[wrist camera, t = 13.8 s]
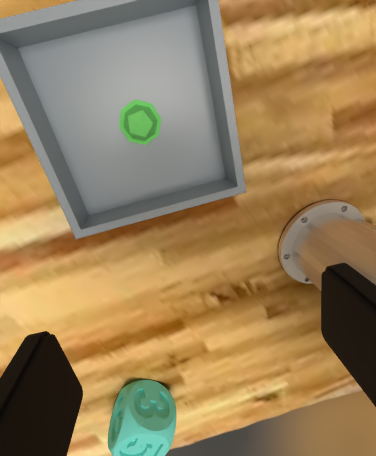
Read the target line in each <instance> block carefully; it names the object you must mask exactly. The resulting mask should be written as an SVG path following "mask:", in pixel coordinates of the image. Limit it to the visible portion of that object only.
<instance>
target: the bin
mask: <svg viewBox="0 0 376 456" xmlns="http://www.w3.org/2000/svg"><path fill="white" fill-rule="evenodd" d="M0 77H1V79H2V81H3V83H4V86H5V88H6V90H7V92H8V94H9V96H10V98H11V101H12V103H13V105H14V107H15V109H16V111H17V113H18V116H19V118H20V120H21V122H22V124H23V126H24V128H25V131H26V133H27V135H28V137H29V139H30V141H31V143H32V146H33V148H34V150H35V152H36V154H37V156H38V158H39V161H40V163H41V165H42V167H43V169H44V171H45V173H46V176H47V178H48V180H49V182H50V184H51V186H52V188H53V191H54V193H55V195H56V197H57V199H58V201H59V203H60V206H61V208H62V210H63V212H64V214H65V216H66V218H67V221H68V223H69V225H70V227H71V229H72V231H73V233H74V236H75V238H76V239H78V238H82V237H85V236H89V235H92V234H96V233H100V232H103V231H107V230H111V229H114V228H118V227H121V226H125V225H129V224H132V223H136V222H140V221H143V220H147V219H151V218H154V217H158V216H161V215H165V214H169V213H172V212H176V211H180V210H183V209H187V208H190V207H194V206H198V205H201V204H205V203H209V202H212V201H216V200H220V199H223V198H227V197H230V196H234V195H238V194H241V193H245V192H246V187H245V180H244V173H243V166H242V159H241V152H240V145H239V138H238V132H237V125H236V118H235V111H234V104H233V97H232V90H231V83H230V77H229V70H228V63H227V56H226V49H225V42H224V35H223V28H222V22H221V15H220V8H219V1H218V0H77V1H73V2H69V3H65V4H61V5H56V6H52V7H48V8H44V9H39V10H35V11H31V12H27V13H23V14H18V15H14V16H10V17H6V18H1V19H0ZM133 100H139V101H143V102H148V103H152V105H153V106H154V108H155V110H156V111H157V113H158V114H159V116H160V117H161V124H160V130H159V136H157V137H156V138H155V139H153V140H152V141H150V142H149V143H147V144H146V145H144V144H139V143H134V142H129V140H128V139H127V138H126V136H125V135H124V133H123V132H122V131H121V129H120V128H119V123H120V114H121V109H122V108H124V107H125V106H126V105H128V104H129V103H131V102H132V101H133Z"/></svg>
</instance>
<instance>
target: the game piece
mask: <svg viewBox="0 0 376 456" xmlns="http://www.w3.org/2000/svg"><path fill="white" fill-rule="evenodd" d="M160 124H161V117H160V116H159V114H158V113H157V111H156V110H155V108H154V106H153V105H152V103H148V102H143V101H139V100H133V101H132V102H131V103H129V104H128V105H126V106H125V107H124V108H122V109H121V114H120V123H119V128H120V129H121V131H122V132H123V133H124V135H125V136H126V138H127V139H128V140H129V142H134V143H139V144H144V145H146V144H147V143H149V142H150V141H152V140H153V139H155V138H156V137H157V136H159V130H160Z"/></svg>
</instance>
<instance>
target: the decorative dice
mask: <svg viewBox="0 0 376 456" xmlns="http://www.w3.org/2000/svg"><path fill="white" fill-rule="evenodd" d="M175 426H176V406H175V401H174V399H173V397H172V395H171V394H170V392H169V391H168V390H167V389H166V388H165V387H164V386H163V385H161V384H160V383H158V382H156V381H153V380H138V381H134V382H132V383H130V384H128V385H126V386H125V387H124V388H122V389H121V391H120V393H119V395H118V397H117V399H116V402H115V405H114V408H113V412H112V416H111V420H110V426H109V432H108V448H109V450H110V452H111V453H112V455H113V456H165V455H166V453H167V452H168V450H169V449H170V446H171V444H172V441H173V437H174V433H175Z"/></svg>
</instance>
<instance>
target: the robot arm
mask: <svg viewBox="0 0 376 456" xmlns="http://www.w3.org/2000/svg"><path fill="white" fill-rule="evenodd" d="M278 254H279V260H280V264H281V265H282V267H283V269H284V270H285V271H286V272H287V274H288V275H289V276H291V277H292V278H293V279H295V280H297V281H299V282H302V283H306V284H314V285H315V286H316V287H317V288H318V289H319V290H320V291H321V330H322V335H323V337H324V339H325V341H326V342H327V344H328V345H329V346H330V347H331V349H332V350H333V351H334V353H335V354H336V355H337V357H338V358H339V359H340V361H341V362H342V363H343V365H344V366H345V367H346V368H347V370H348V371H349V372H350V374H351V375H352V376H353V378H354V379H355V380H356V382H357V383H358V384H359V386H360V387H361V388H362V389H363V391H364V392H365V393H366V394H367V396H368V397H369V399H370V400H371V401H372V403H373V404H374V405H375V407H376V226H375V225H372V224H370V223H368V222H366V221H365V218H364V216H363V215H362V213H361V212H360V211H359V210H358V209H357V208H356V207H355V206H353V205H351V204H349V203H346V202H343V201H340V200H324V201H321V202H317V203H314V204H312V205H310V206H308V207H306V208H305V209H303V210H302V211H300V212H299V213H298V214H297V215H296V216H295V217H294V218H293V219H292V220H291V221H290V222H289V224H288V225H287V226H286V228H285V230H284V232H283V233H282V236H281V239H280V242H279V248H278ZM82 397H83V390H82V386H81V384H80V382H79V381H78V379H77V377H76V375H75V373H74V371H73V369H72V367H71V365H70V363H69V361H68V360H67V358H66V356H65V354H64V352H63V350H62V348H61V346H60V344H59V342H58V340H57V338H56V337H55V335H53V334H51V335H50V333H49V332H47V331H44V332H40V333H36V334H31V335H28V336H27V337H26V338H25V339H24V341H23V342H22V344H21V346H20V347H19V349H18V350H17V352H16V354H15V355H14V357H13V359H12V360H11V362H10V363H9V365H8V367H7V368H6V370H5V372H4V373H3V375H2V376H1V378H0V456H67V452H68V449H69V445H70V441H71V438H72V434H73V430H74V427H75V423H76V420H77V416H78V412H79V409H80V405H81V401H82Z"/></svg>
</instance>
